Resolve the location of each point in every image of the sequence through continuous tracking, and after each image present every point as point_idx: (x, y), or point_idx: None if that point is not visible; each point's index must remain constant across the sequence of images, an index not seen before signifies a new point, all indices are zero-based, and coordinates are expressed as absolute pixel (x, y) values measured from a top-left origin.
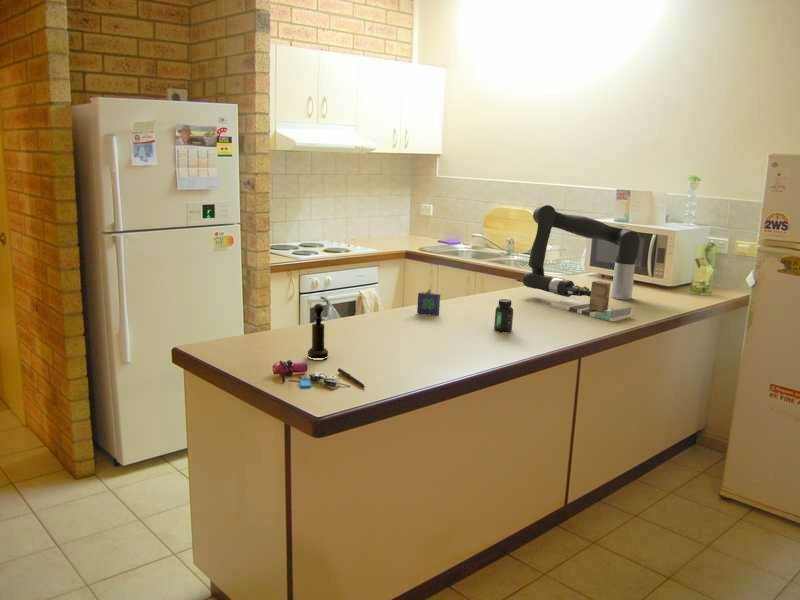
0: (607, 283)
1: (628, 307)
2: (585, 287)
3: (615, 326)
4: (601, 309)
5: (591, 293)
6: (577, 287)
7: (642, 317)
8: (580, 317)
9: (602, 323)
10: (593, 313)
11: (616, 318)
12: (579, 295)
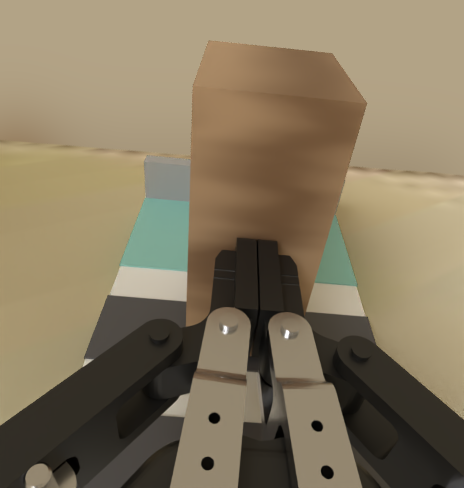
0: (262, 47)
1: (167, 160)
2: (32, 437)
3: (378, 197)
4: None
5: (324, 238)
6: (310, 469)
7: (94, 184)
8: (458, 353)
9: (404, 236)
10: (356, 295)
11: None
12: (364, 402)
